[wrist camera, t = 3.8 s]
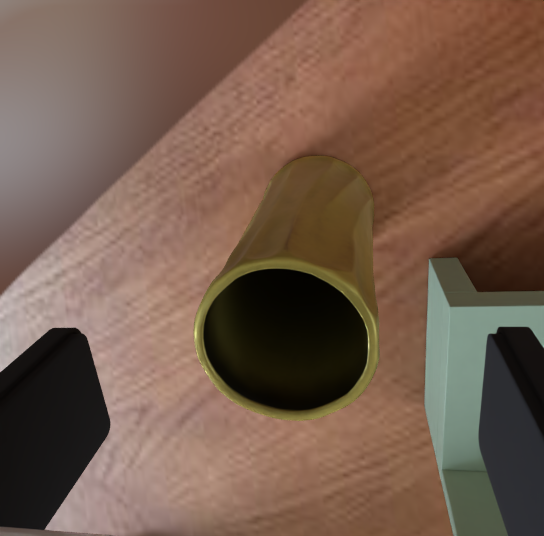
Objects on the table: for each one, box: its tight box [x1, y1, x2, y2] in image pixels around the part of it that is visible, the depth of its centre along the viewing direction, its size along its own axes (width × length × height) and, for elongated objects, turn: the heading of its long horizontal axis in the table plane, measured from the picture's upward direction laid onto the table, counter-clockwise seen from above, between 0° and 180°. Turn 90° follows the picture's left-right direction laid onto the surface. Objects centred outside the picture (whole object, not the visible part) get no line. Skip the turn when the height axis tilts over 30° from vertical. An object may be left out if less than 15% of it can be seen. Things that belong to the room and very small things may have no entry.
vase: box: [194, 156, 379, 421], centre depth 19 cm, size 6×6×14 cm
